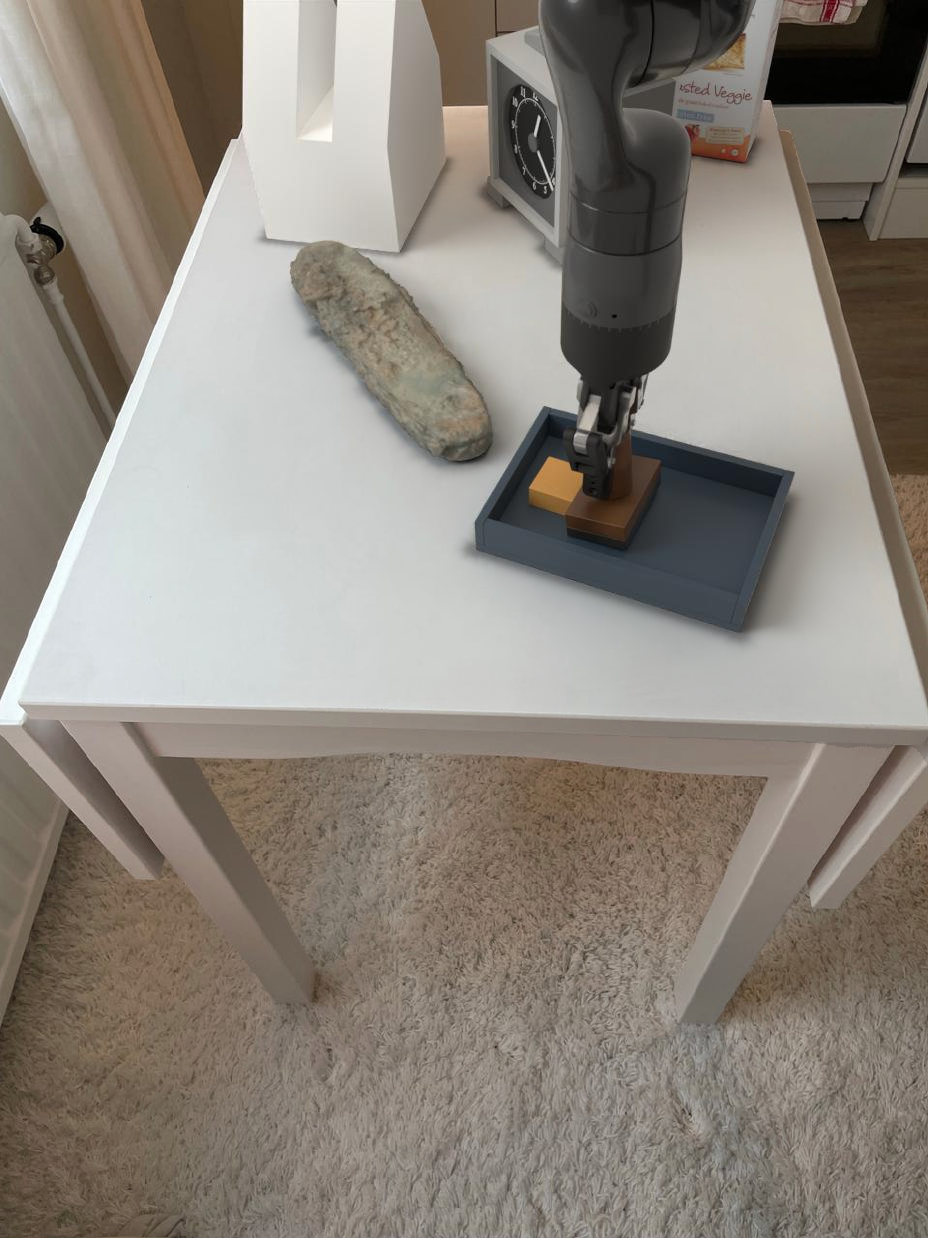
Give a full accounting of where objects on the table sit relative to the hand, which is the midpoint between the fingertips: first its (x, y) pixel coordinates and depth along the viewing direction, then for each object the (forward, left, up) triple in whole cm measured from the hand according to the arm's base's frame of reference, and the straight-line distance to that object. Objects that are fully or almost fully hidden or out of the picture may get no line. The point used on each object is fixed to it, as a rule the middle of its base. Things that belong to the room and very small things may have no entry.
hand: (604, 478), depth 76 cm
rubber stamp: (-1, 0, -3) cm, 3 cm away
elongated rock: (+26, -12, -4) cm, 29 cm away
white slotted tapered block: (+42, -36, -4) cm, 56 cm away
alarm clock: (+18, -42, -4) cm, 46 cm away
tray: (-3, 0, -4) cm, 5 cm away
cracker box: (+10, -60, -4) cm, 61 cm away
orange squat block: (+4, 0, -3) cm, 5 cm away
